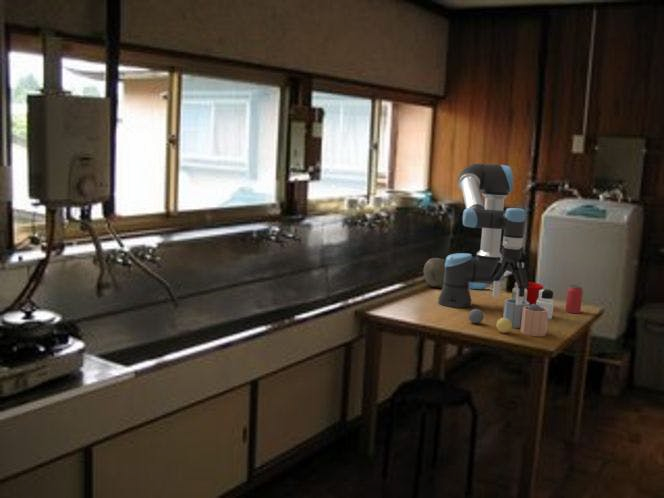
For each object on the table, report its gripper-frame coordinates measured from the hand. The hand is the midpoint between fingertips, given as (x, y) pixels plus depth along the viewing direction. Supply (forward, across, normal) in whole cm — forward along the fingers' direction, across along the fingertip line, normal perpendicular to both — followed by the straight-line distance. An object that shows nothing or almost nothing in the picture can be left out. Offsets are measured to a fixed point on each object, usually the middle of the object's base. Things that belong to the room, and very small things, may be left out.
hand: (506, 300), depth 292 cm
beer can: (+13, -19, +58) cm, 63 cm away
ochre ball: (+13, 0, 0) cm, 13 cm away
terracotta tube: (+13, +4, +12) cm, 18 cm away
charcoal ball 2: (+7, +5, +12) cm, 14 cm away
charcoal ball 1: (+13, -15, -2) cm, 20 cm away
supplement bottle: (+13, -28, +33) cm, 45 cm away
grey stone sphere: (+12, -80, +25) cm, 85 cm away
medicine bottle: (+13, -16, +37) cm, 43 cm away
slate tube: (+13, -8, +13) cm, 20 cm away
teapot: (+12, -74, +45) cm, 88 cm away
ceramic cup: (+13, -37, +46) cm, 61 cm away
